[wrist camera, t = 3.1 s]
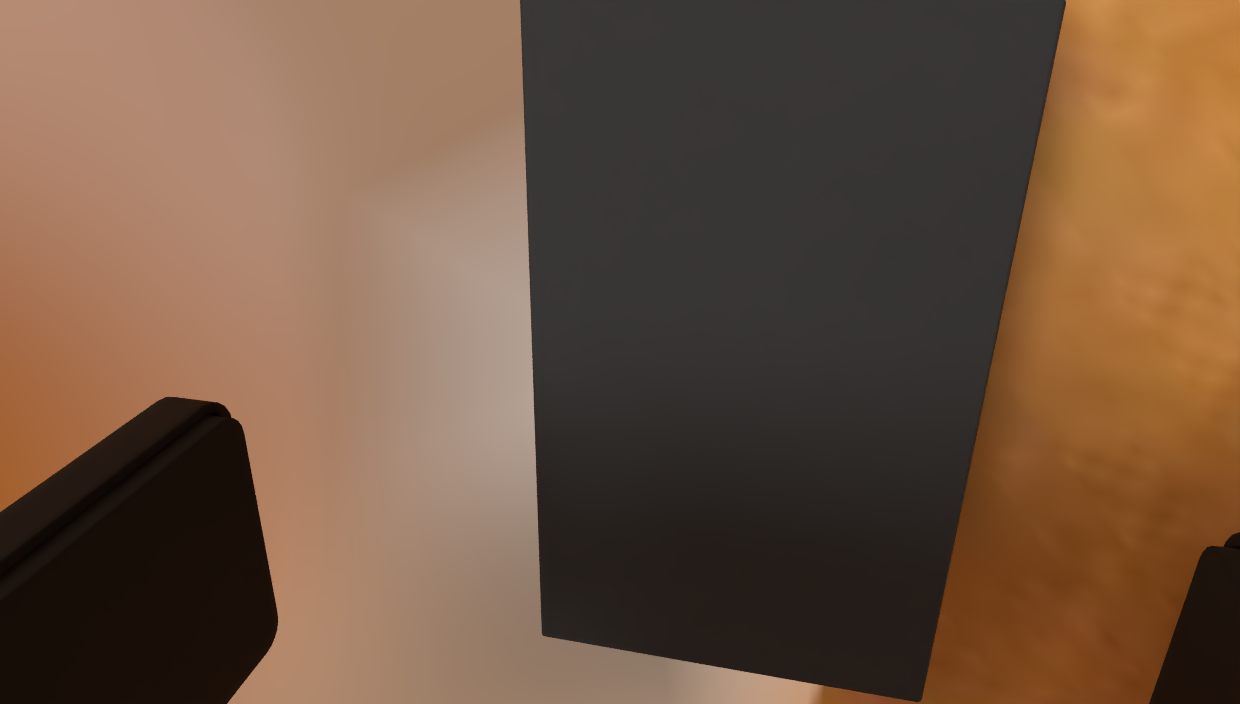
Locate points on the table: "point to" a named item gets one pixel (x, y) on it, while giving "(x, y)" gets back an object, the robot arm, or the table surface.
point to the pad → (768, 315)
